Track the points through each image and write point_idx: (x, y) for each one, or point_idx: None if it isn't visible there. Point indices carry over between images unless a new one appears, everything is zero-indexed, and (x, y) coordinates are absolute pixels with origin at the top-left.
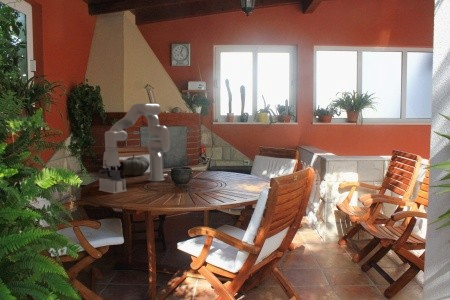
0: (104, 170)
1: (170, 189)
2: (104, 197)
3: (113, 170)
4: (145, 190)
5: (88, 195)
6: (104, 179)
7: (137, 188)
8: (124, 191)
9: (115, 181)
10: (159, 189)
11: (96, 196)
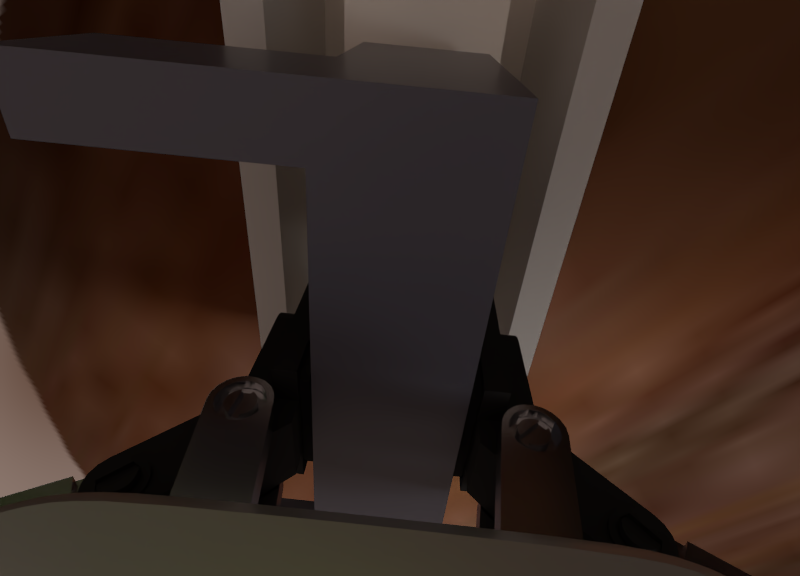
0: (254, 156)
1: (733, 559)
2: (150, 385)
3: (375, 499)
4: (610, 455)
5: (20, 177)
6: (255, 193)
7: (688, 338)
8: None
9: None
10: (705, 510)
11: (95, 297)
